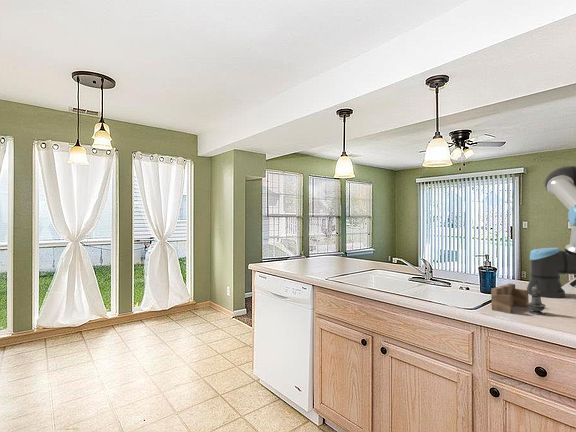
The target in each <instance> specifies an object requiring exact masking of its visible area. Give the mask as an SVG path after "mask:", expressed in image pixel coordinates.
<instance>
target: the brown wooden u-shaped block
mask: <svg viewBox="0 0 576 432" xmlns="http://www.w3.org/2000/svg"><path fill="white" fill-rule="evenodd" d="M490 291H491V292H490V293H491V295H490V296H491V310H492V311H496V312H501V313H505V314H513V306H519V307H524V308H529V305H528V303H530V302H529V300H530V299H529V293H528V290H527V289H521V288H516V284H515V283H507V284H503V285H500V286H496V287H492V288H490Z"/></svg>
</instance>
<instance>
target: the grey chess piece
mask: <svg viewBox="0 0 576 432" xmlns="http://www.w3.org/2000/svg"><path fill="white" fill-rule="evenodd" d="M530 295H531V301H530V302H529V303H528V305H529V306H528V308H529V309H530V310H529V311H528V314H531V315H536V316H544V315H545V312H543V311H544V310H545V307H546V306H547V305H546V304H544V303H542V295H541V293H540V287H538V286H537V284H535V286H533V287H532V294H530Z"/></svg>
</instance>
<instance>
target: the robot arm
mask: <svg viewBox="0 0 576 432" xmlns="http://www.w3.org/2000/svg"><path fill="white" fill-rule="evenodd" d="M544 188H545V189H546V191H547V192H548V193H549V194H550V195H553V196H556V198H557V199H558V200H559V201H560V203H562V204H563V205H564V207H565V208H566V209H567V210H568V212H567V213H568V214H567V218H568V221H569V223H570V225H571V232H570V237H569V238H570V239H569V244H568V243H567V245H565V246H564V250H560V248H559V247H542V248H535V249H532V250H531V251H530V254H529V260H530V261H529V262H530V264H529V265H530V267H529V268H530V279H529V281H528V285H527V287H526V290H528V295H531V294H532V287H533V286H535V284H537V286H538V287H540V293H541V295H542V296H541V298H542V297H544V298H557V299H558V298H564V297H566V293H567V294H568V293H570V292H572V291H574V290H575V289H576V165H569V166H568V165H567V166H561V167H558V168H555V169H554V170H552V171H550V173H549V174H548V175H547V176H546V177H545V180H544ZM561 275H573V276H574V278H572V279H571V280H570V281H568V282H567V283H565V284H562V281H561Z"/></svg>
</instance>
